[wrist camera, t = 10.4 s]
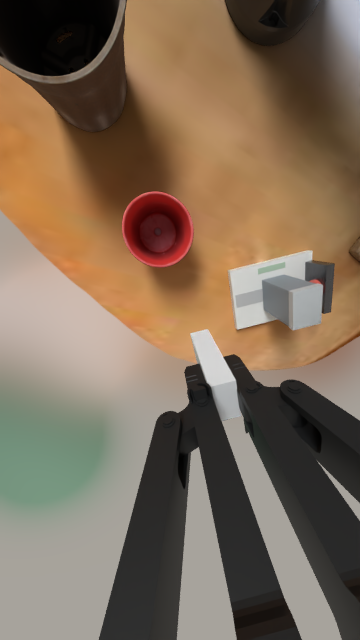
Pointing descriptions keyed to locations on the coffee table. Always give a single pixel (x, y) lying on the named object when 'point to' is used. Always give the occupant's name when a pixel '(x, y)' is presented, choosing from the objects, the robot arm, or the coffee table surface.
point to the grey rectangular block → (293, 301)
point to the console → (250, 277)
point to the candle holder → (356, 250)
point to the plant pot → (69, 55)
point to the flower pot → (157, 229)
